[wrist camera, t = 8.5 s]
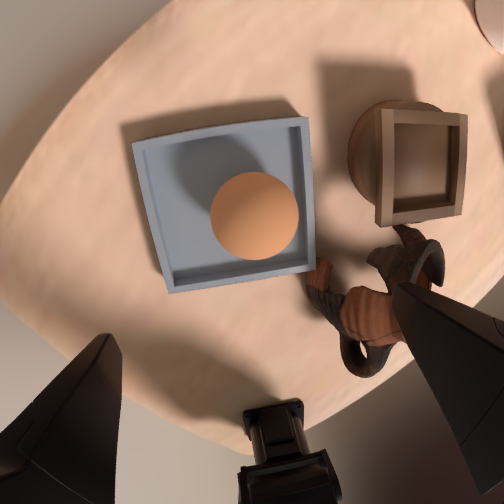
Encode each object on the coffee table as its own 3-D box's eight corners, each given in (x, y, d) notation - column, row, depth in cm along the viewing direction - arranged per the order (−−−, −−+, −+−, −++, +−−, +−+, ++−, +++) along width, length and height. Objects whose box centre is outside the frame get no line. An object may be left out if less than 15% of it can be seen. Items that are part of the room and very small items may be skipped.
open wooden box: (434, 203, 22) (464, 220, 18) (348, 214, 21) (373, 236, 18) (437, 103, 18) (472, 108, 14) (344, 98, 17) (372, 99, 14)
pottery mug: (300, 215, 21) (408, 231, 15) (373, 214, 27) (457, 226, 20) (289, 368, 24) (371, 417, 17) (359, 336, 29) (430, 365, 22)
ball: (266, 230, 21) (318, 253, 17) (203, 255, 19) (248, 288, 15) (258, 160, 19) (314, 169, 15) (188, 178, 17) (234, 192, 13)
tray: (309, 259, 22) (315, 269, 21) (170, 282, 22) (169, 294, 20) (300, 116, 18) (308, 116, 16) (137, 140, 17) (131, 143, 16)
